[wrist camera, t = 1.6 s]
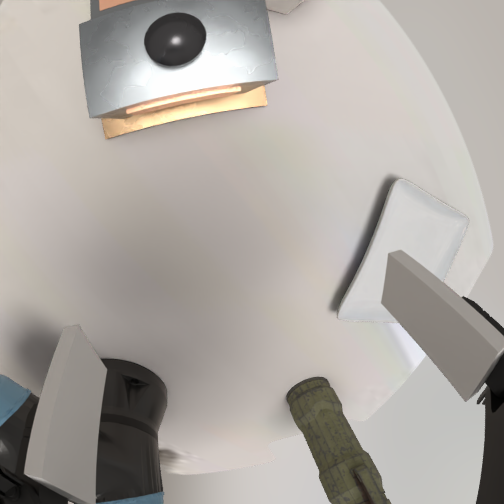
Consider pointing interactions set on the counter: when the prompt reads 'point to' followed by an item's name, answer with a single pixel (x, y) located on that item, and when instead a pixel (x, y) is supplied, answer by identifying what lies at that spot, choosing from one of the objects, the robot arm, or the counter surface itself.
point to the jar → (282, 5)
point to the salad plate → (403, 247)
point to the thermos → (334, 445)
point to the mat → (112, 6)
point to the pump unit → (175, 61)
